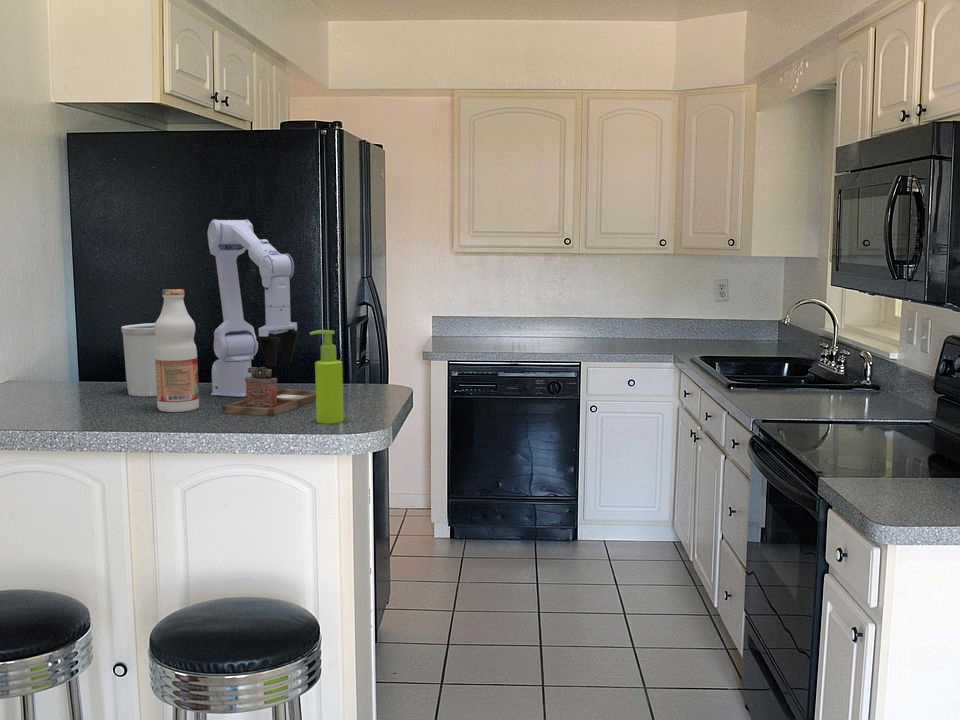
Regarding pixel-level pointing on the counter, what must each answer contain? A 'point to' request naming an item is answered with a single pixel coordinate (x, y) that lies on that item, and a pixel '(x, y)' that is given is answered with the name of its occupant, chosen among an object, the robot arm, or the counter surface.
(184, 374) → the fruit juice
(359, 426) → the counter surface
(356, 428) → the counter surface
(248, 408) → the tray
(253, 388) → the lighter
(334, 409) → the soap dispenser
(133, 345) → the utensil holder
